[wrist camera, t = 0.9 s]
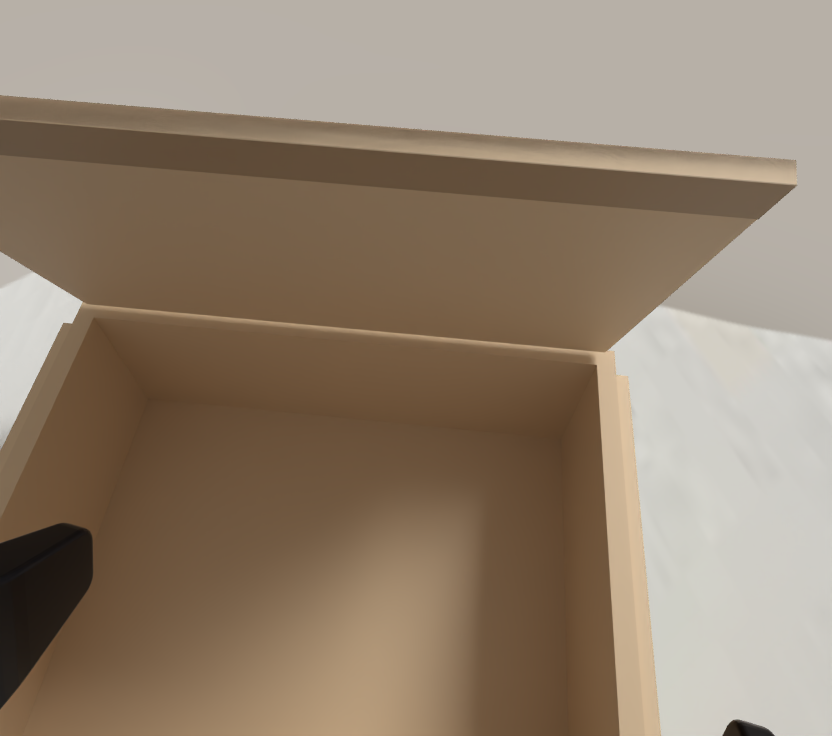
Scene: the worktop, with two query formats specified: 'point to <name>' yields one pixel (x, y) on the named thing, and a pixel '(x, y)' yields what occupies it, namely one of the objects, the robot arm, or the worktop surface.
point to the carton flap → (365, 221)
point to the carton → (332, 534)
